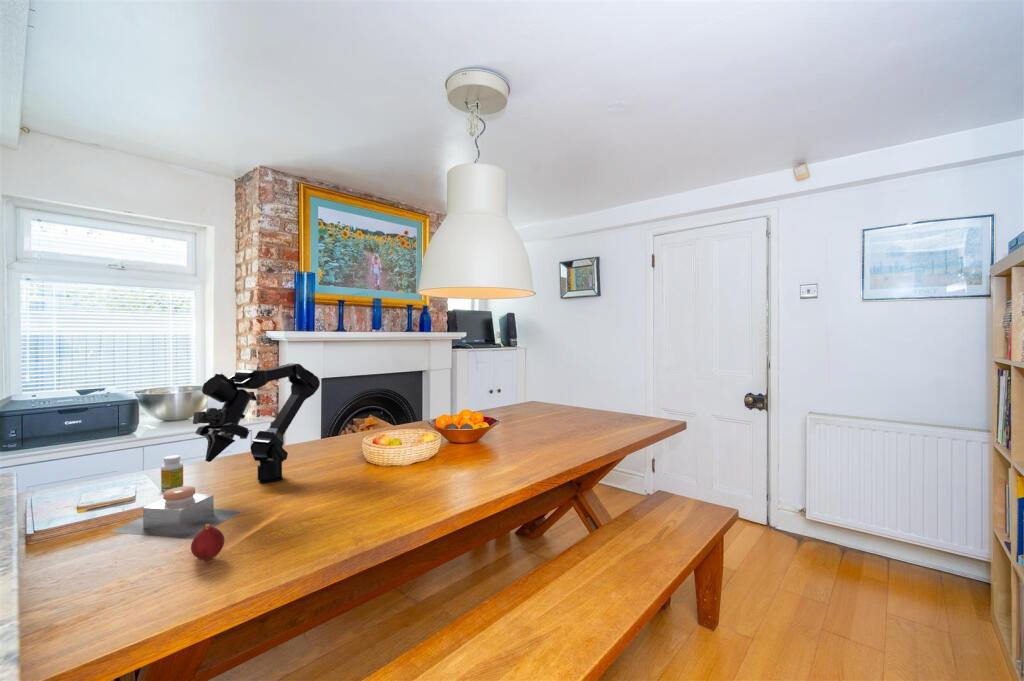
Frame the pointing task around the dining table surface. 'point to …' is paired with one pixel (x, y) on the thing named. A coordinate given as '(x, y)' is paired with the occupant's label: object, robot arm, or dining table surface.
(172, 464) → the supplement bottle
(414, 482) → the dining table surface
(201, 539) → the onion
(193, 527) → the slate board
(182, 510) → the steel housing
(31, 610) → the dining table surface
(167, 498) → the terracotta plug
